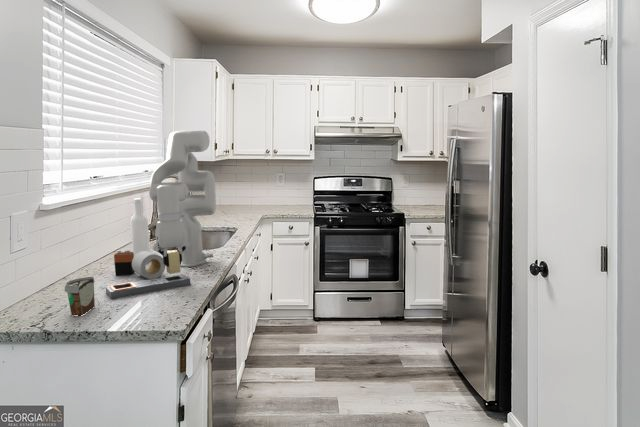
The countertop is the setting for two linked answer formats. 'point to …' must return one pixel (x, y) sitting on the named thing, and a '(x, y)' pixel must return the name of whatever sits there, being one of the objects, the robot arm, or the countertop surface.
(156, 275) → the toilet paper
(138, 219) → the bottle
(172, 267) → the tan wooden block
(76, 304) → the food container
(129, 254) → the battery
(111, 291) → the rail
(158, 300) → the countertop surface
